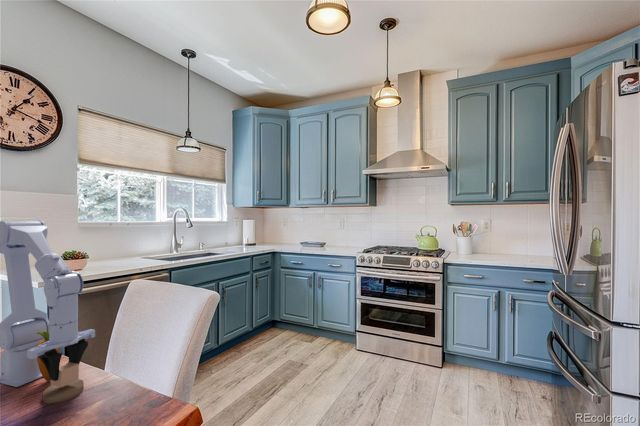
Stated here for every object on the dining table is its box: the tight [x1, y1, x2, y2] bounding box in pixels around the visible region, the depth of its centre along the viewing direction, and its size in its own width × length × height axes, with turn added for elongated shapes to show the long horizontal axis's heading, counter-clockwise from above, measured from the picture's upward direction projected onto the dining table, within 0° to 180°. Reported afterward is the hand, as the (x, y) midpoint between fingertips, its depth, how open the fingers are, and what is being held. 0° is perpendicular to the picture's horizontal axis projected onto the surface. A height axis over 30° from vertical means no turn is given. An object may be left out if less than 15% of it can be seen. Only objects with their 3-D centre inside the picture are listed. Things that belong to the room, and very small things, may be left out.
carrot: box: [37, 330, 61, 382], centre depth 87 cm, size 5×5×15 cm
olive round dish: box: [42, 378, 85, 404], centre depth 80 cm, size 8×8×2 cm
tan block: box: [50, 361, 80, 387], centre depth 80 cm, size 4×4×4 cm
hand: (63, 375), depth 80 cm, fingers closed on tan block, 4 cm apart
